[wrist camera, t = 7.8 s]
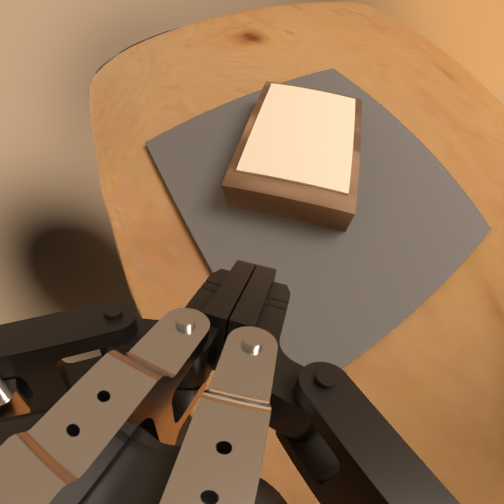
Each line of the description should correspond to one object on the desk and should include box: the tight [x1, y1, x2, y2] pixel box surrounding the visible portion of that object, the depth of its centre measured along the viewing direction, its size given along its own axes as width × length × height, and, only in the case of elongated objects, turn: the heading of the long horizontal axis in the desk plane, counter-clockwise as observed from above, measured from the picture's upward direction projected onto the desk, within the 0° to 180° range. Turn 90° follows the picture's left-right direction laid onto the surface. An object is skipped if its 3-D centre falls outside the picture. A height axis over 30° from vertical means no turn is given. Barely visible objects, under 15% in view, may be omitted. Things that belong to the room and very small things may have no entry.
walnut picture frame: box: [222, 82, 362, 232], centre depth 23 cm, size 3×10×14 cm
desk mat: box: [146, 69, 491, 369], centre depth 24 cm, size 26×28×1 cm
